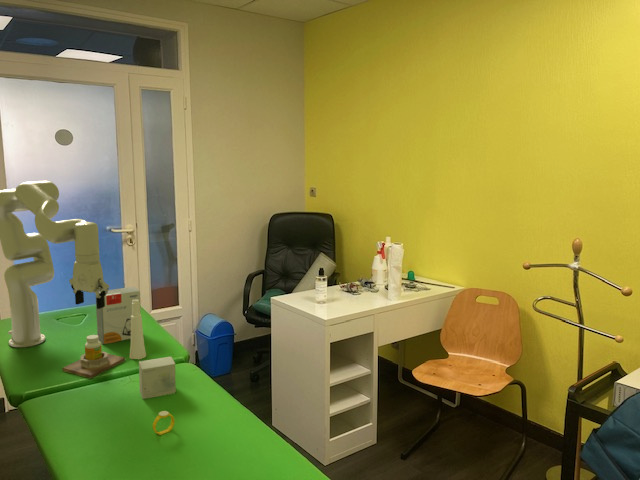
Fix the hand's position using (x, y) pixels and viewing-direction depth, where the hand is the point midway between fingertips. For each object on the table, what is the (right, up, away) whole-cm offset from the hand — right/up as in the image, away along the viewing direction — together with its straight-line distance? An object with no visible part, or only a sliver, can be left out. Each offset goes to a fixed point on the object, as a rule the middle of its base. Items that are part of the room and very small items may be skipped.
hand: (90, 305), depth 184 cm
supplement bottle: (0, -21, +4) cm, 21 cm away
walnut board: (0, -22, +4) cm, 22 cm away
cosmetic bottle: (+12, -21, +13) cm, 27 cm away
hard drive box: (-1, -17, +30) cm, 34 cm away
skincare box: (+28, -27, -14) cm, 41 cm away
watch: (+37, -31, -37) cm, 60 cm away
